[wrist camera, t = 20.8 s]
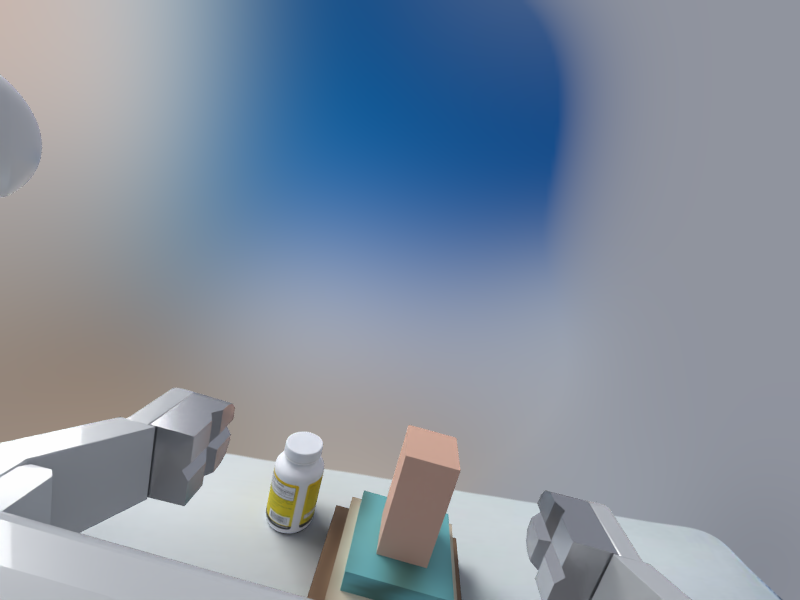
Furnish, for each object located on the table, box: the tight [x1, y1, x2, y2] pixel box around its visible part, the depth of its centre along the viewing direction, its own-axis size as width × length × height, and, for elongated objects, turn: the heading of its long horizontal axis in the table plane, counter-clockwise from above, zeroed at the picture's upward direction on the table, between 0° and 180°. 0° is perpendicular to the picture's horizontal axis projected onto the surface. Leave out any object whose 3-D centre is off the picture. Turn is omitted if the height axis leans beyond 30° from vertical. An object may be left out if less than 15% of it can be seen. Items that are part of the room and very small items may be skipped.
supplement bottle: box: [266, 432, 324, 533], centre depth 42 cm, size 5×5×10 cm
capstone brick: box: [376, 425, 460, 568], centre depth 33 cm, size 4×4×10 cm
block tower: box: [307, 491, 461, 600], centre depth 35 cm, size 14×14×8 cm
